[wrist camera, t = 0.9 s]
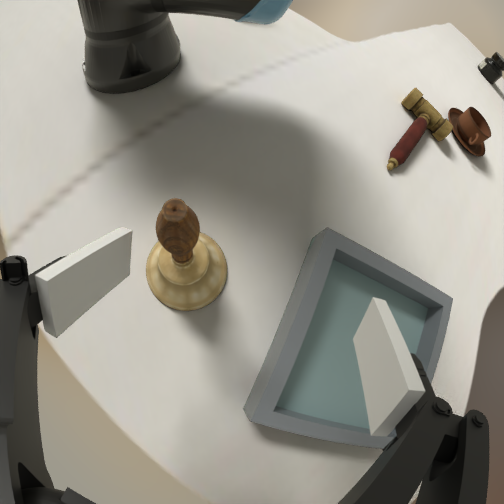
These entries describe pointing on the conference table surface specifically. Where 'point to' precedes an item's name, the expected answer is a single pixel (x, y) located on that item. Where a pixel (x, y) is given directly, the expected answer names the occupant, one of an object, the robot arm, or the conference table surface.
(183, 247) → the hand bell
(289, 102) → the conference table surface
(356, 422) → the box
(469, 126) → the cup and saucer
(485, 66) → the ink bottle
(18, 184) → the conference table surface
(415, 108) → the gavel
